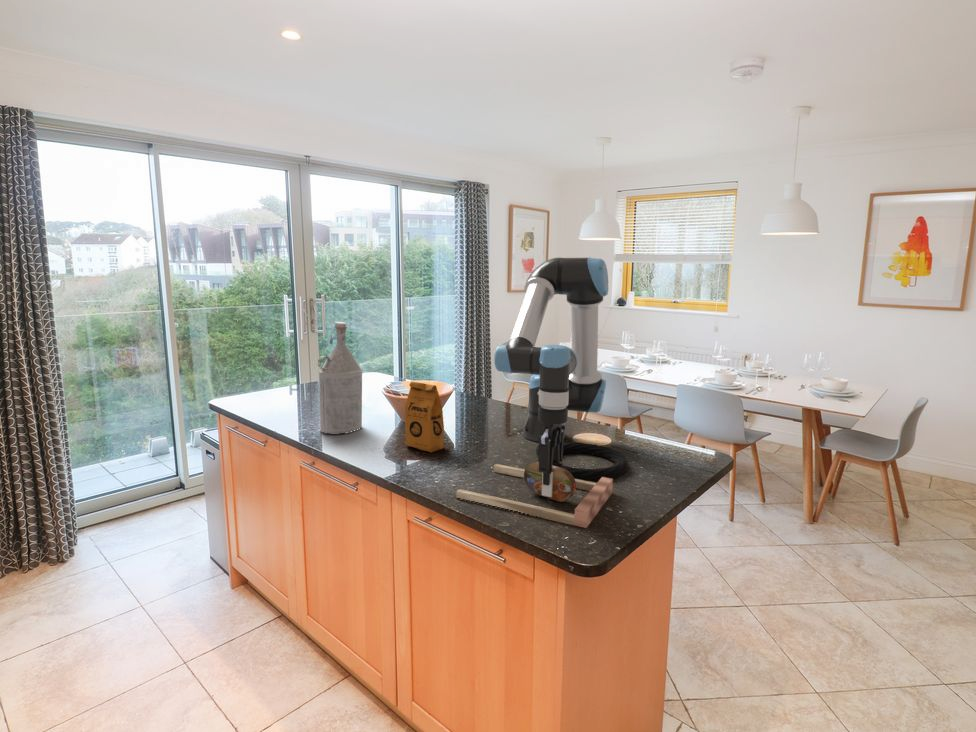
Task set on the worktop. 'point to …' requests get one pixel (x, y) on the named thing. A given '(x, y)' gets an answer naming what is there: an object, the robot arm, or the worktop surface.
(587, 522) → the stop channel
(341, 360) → the grey jug bottle
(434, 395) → the coffee package
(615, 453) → the cable lock
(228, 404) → the worktop surface
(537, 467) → the tin
